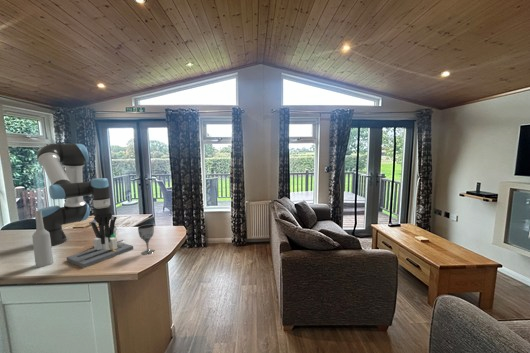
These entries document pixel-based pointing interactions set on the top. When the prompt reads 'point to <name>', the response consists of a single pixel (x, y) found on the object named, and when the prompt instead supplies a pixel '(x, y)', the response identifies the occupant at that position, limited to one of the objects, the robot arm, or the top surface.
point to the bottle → (42, 243)
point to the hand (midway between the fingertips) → (106, 248)
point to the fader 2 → (113, 243)
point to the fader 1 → (97, 244)
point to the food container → (113, 233)
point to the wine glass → (146, 236)
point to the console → (98, 255)
